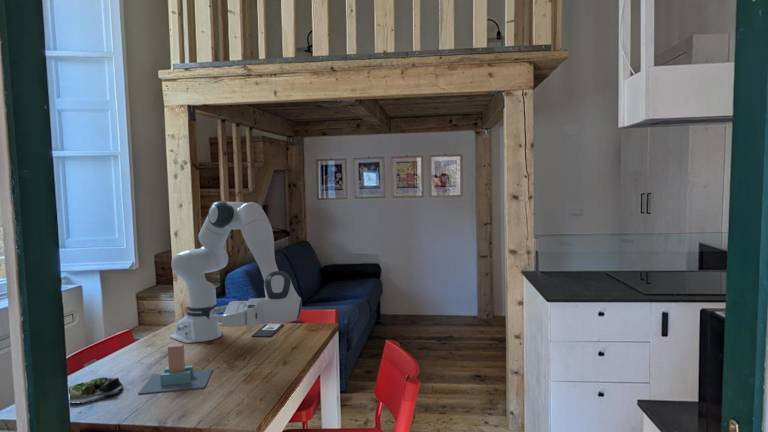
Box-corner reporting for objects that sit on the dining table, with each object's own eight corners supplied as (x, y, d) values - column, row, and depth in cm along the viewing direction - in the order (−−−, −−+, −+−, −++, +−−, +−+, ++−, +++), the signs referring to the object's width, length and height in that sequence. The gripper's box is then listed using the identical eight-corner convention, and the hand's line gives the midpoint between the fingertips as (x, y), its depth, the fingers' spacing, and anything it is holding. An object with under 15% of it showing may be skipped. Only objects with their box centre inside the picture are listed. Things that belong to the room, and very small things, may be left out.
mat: (138, 394, 152) (138, 393, 152) (152, 375, 168) (152, 374, 168) (204, 388, 156) (204, 387, 156) (212, 370, 172) (212, 369, 172)
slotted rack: (160, 385, 158) (160, 375, 158) (165, 378, 164) (165, 368, 164) (189, 382, 160) (189, 372, 159) (193, 375, 166) (193, 365, 166)
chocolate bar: (251, 335, 210) (265, 324, 228) (251, 338, 210) (265, 326, 228) (271, 336, 209) (283, 324, 227) (271, 338, 209) (284, 326, 227)
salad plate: (55, 415, 140) (54, 399, 140) (46, 396, 154) (46, 382, 153) (128, 395, 153) (127, 381, 153) (114, 379, 166) (114, 366, 166)
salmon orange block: (185, 378, 164) (183, 343, 163) (183, 381, 161) (182, 346, 161) (171, 379, 163) (169, 344, 162) (169, 382, 160) (167, 347, 160)
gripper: (256, 295, 176) (216, 297, 173) (251, 309, 155) (206, 312, 153) (256, 312, 176) (217, 315, 173) (251, 329, 156) (206, 332, 153)
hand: (211, 314), depth 163 cm, fingers open, 8 cm apart
